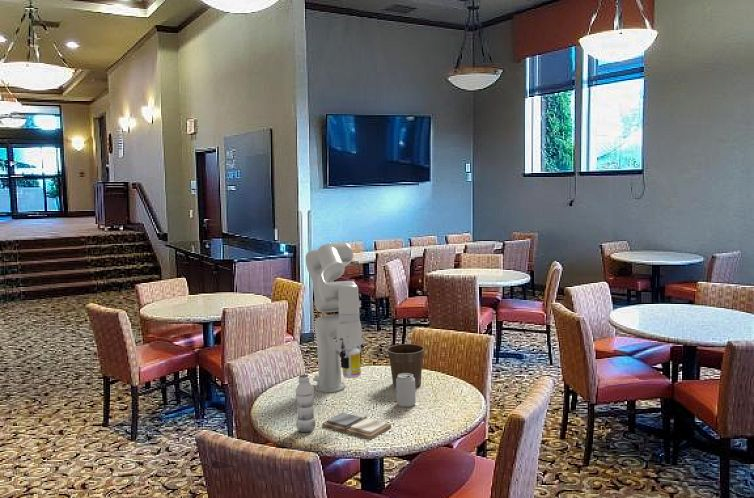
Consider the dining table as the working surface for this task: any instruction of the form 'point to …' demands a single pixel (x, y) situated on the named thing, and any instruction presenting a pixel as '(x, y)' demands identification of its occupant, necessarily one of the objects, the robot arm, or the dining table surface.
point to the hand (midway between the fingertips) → (351, 365)
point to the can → (405, 390)
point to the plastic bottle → (305, 405)
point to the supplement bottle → (353, 364)
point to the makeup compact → (356, 425)
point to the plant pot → (406, 361)
